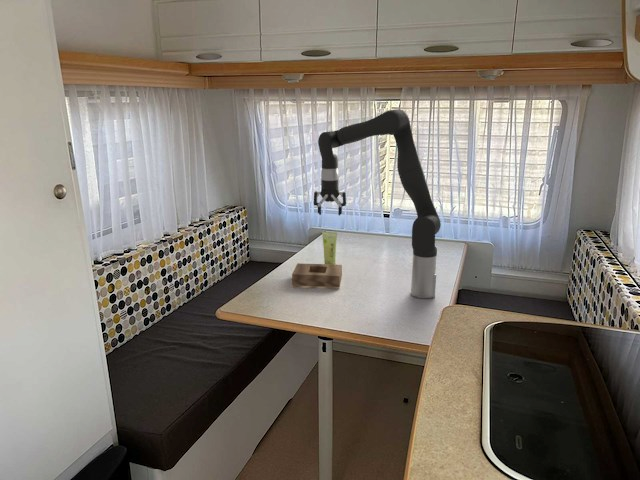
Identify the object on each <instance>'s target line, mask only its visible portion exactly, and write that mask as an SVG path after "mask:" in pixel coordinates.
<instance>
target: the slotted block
mask: <svg viewBox="0 0 640 480" xmlns="http://www.w3.org/2000/svg"><path fill="white" fill-rule="evenodd" d="M342 277H343V266H342V264H336V265H331V264H325V263H299V262H297V264H296V265H295V267H294V270H293V271H292V273H291V283H292V284H291V287H292V288H293V289H294V288H295V289H298V288H299V289H315V290H317V289H320V290H321V289H322V290H340V289H341V282H342Z"/></svg>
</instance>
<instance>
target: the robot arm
mask: <svg viewBox="0 0 640 480" xmlns="http://www.w3.org/2000/svg"><path fill="white" fill-rule="evenodd" d="M385 135H386V136H388V135H391V136H393V138H394V141H395V144H396V147H397V160H396V161H397V162H396V163H397V165H396V167H397V173H398V176H399V179H400V182H401V185H402V187H403V189H404V191H405V192H406V194H407V195H408V196H409V198H410V199H411V201H412V203H413V206H414V208H415V211H416V215H417V216H416V217H417V218H415V219H414V221H413V223H412V228H411V247H412V263H411V264H412V269H411V287H410V293H411V294H410V295H411V296H412V297H414V298H418V299H431V298H435V297H436V283H437V274H436V270H437V255H438V254H437V253H438V248H437V246H436V234H438V233H439V232H440V230H441V223H442V222H441V219H440V217H439V215H438V212H437V210H436V207H435V205H434V203H433V200H432V198H431V194H430V190H429V186H428V183H427V180H426V177H425V176H426V175H425V173H424V169H423V167H422V163H421V160H420V157H419V154H418V150H417V147H416V144H415V142H414V136H413V131H412V127H411V120H410V117H409V115H408V114H407V113H406V111H405V110H403V109H399V108H398V109H395V108H394V109H388V110H387V111H385V112H383V113H381V114H379V115H376V116H375V117H373V118H371V119H369V120H366V121H361V122H358V123H353V124H350V125H347V126H343V127H341V128H339V129H337V130H332V131H330V130H329V131H325V132H324V131H323V132H321V133H320V134H319V136H318V140H317V143H318V145H317V146H318V149H319V155H320V156H321V174H320V177H321V178H320V180H321V181H320V182H321V183H320V185H321V187H320V188H321V191H317V190H315V191H314V193H313V206H316V207H317V214H319V216H322V205H323V203H324V202H326V203H328V202H330V203H331V202H332V203H334V202H335V203H336V204H337V206H338V216H341V215H342V213H343V207H345V206H346V205H347V194H346V191H341V192H340V191H339V181H340V180H339V178H340V176H339V175H340V173H339V158H338V155H337V154H335V153H334V151H333V149H336V148H339V147H342V146H345V145H348V144H352V143H356V142H359V141H362V140H364V139H367V138H370V137H375V136H385ZM319 196H320V197H321V200H320V201H319V202H318V197H319ZM339 196H341V198H342V202H341V201H340V199H339V198H338V197H339Z"/></svg>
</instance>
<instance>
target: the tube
mask: <svg viewBox="0 0 640 480" xmlns="http://www.w3.org/2000/svg"><path fill="white" fill-rule="evenodd" d="M321 235H322V243H323V244H322V245H323V259H324V260H323V261H324V262H323V264H331V265H337V264H336V263H337V261H336V257H337V240H338V232H333V231H327V230H326V231H325V230H324V231H323V230H322V231H321Z"/></svg>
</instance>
